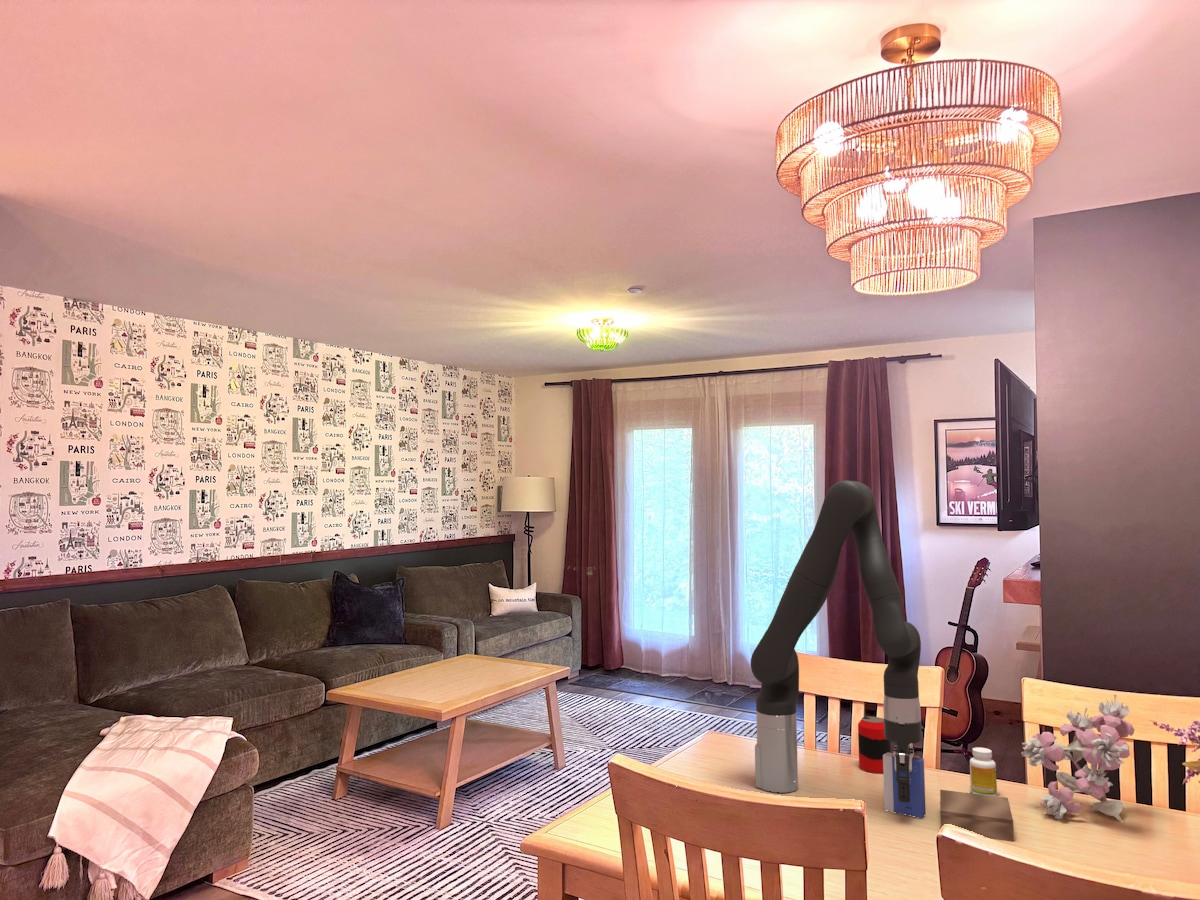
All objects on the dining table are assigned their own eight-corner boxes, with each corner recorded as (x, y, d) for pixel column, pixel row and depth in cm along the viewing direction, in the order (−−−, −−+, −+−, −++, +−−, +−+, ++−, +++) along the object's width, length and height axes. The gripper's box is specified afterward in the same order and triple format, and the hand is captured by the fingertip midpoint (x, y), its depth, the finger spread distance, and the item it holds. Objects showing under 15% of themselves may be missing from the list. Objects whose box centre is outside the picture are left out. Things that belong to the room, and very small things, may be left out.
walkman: (925, 814, 168) (923, 756, 169) (922, 819, 165) (920, 760, 166) (888, 806, 172) (886, 750, 173) (884, 810, 170) (882, 753, 171)
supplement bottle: (1000, 798, 177) (998, 754, 178) (974, 797, 178) (972, 752, 179) (993, 790, 182) (991, 747, 183) (968, 788, 183) (966, 745, 184)
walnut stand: (941, 831, 159) (940, 810, 159) (940, 808, 171) (940, 789, 171) (1013, 841, 154) (1013, 820, 154) (1008, 817, 166) (1007, 797, 166)
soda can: (868, 762, 203) (866, 714, 204) (896, 768, 198) (895, 719, 198) (853, 768, 198) (852, 719, 199) (882, 776, 192) (880, 725, 193)
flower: (1017, 778, 185) (1007, 690, 178) (1129, 779, 177) (1124, 687, 170) (1035, 848, 168) (1024, 753, 160) (1160, 853, 160) (1155, 753, 152)
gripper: (885, 707, 178) (888, 782, 177) (881, 723, 165) (884, 803, 164) (921, 710, 175) (924, 786, 174) (920, 727, 162) (923, 808, 161)
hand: (905, 794), depth 169 cm, fingers open, 8 cm apart
